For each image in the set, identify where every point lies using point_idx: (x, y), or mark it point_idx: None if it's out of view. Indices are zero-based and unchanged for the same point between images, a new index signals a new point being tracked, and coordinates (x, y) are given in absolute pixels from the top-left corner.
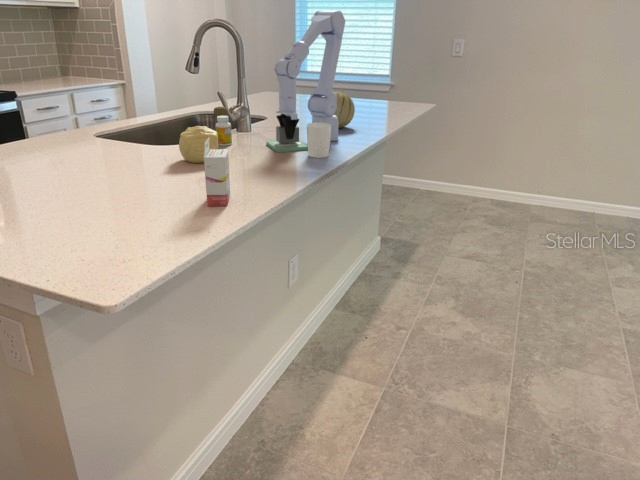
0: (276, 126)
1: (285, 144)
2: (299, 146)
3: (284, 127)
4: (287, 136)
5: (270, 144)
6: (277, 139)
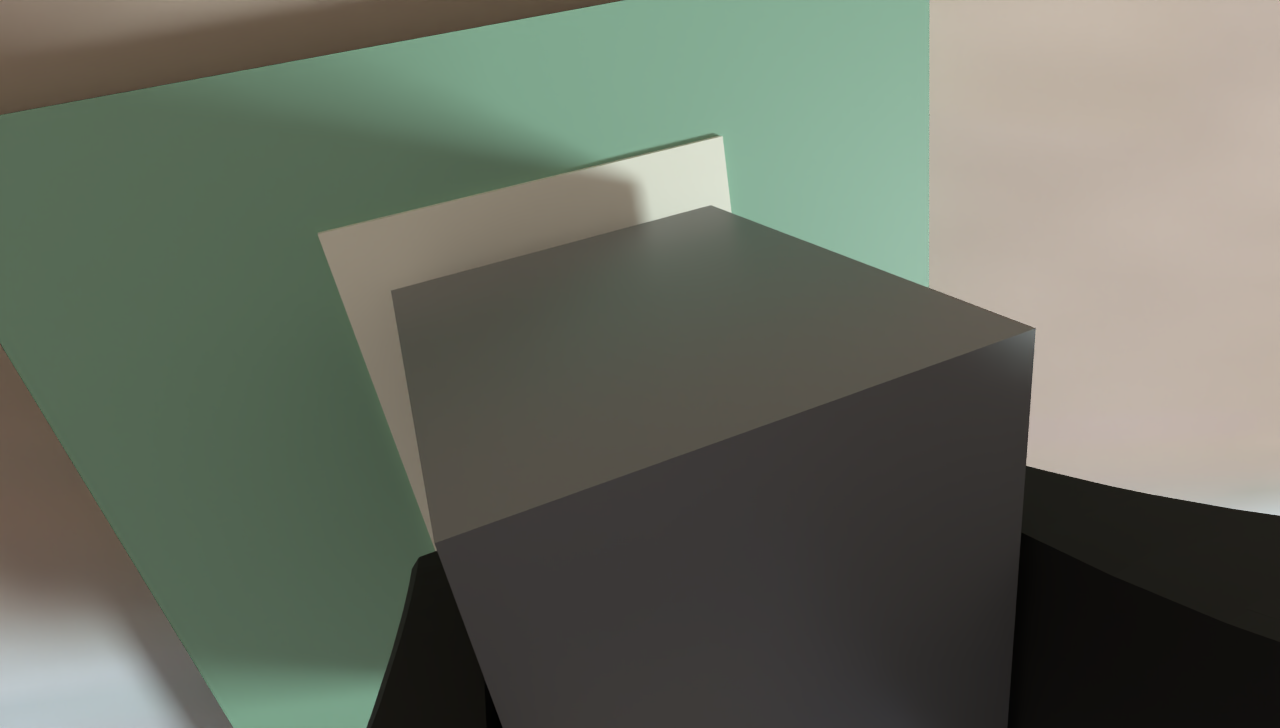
0: (1031, 345)
1: None
2: (297, 713)
3: (731, 712)
4: (406, 616)
5: (577, 9)
6: (631, 244)
